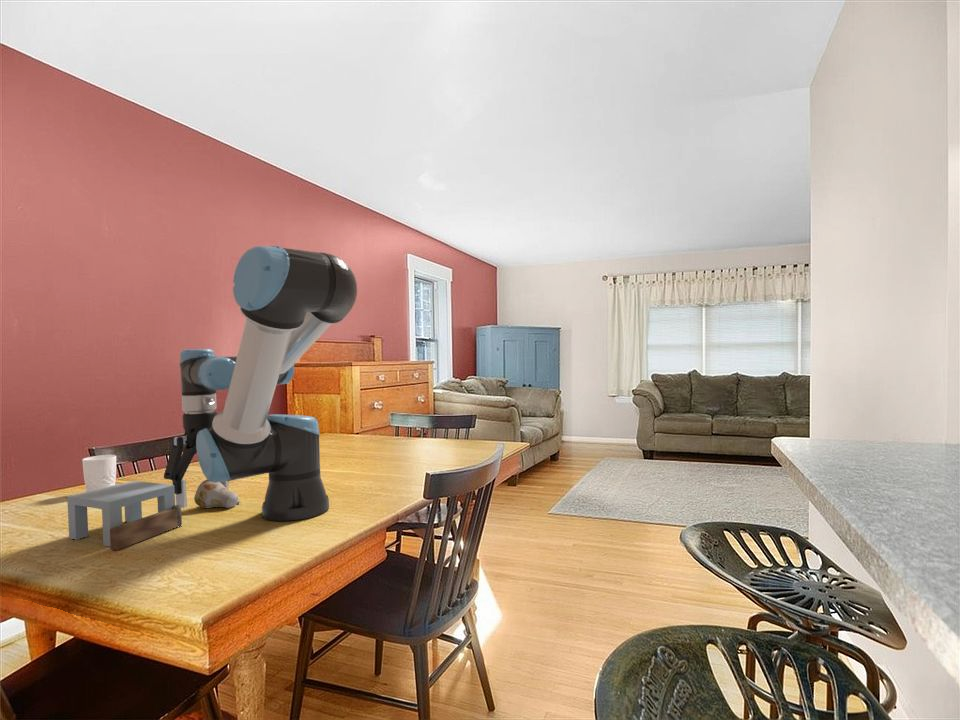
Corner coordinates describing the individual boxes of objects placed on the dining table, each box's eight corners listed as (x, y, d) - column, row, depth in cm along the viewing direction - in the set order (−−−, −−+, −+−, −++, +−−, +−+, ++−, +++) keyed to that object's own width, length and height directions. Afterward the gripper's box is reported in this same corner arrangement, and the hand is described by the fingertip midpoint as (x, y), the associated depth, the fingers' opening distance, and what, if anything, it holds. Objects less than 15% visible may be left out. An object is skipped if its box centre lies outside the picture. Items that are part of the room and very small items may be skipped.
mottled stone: (230, 513, 129) (207, 479, 128) (205, 527, 132) (182, 494, 131) (251, 497, 136) (228, 465, 135) (226, 511, 139) (204, 480, 138)
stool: (176, 525, 119) (174, 485, 119) (111, 547, 107) (109, 502, 106) (135, 518, 125) (133, 480, 125) (69, 538, 112) (67, 496, 112)
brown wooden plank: (177, 525, 119) (176, 504, 119) (183, 525, 119) (182, 505, 119) (110, 550, 105) (109, 526, 105) (117, 551, 104) (116, 527, 104)
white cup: (123, 490, 152) (121, 456, 152) (91, 497, 146) (89, 461, 146) (110, 487, 157) (108, 453, 157) (78, 494, 150) (77, 458, 150)
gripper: (164, 418, 119) (169, 516, 120) (249, 406, 140) (252, 488, 141) (142, 417, 122) (147, 512, 123) (228, 405, 143) (232, 486, 144)
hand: (203, 499), depth 132 cm, fingers open, 11 cm apart
